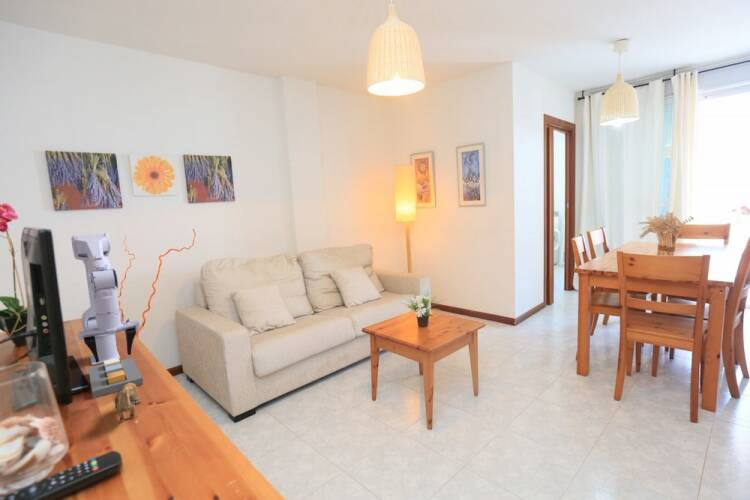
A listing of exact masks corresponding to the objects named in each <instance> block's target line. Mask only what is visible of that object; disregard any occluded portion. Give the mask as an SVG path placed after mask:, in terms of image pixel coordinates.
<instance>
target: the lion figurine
mask: <svg viewBox="0 0 750 500" xmlns="http://www.w3.org/2000/svg"><path fill="white" fill-rule="evenodd" d="M141 396H142V395H141V394H140V393H139V389H138V386H136V385H135V384H134V383H128V384H126V385H124V386H123V388H122V389H121V390H120V391H118V392H117V394H116V397H115V398H114V407H115V410H116V411H117V415H118V418H119V419H118V424H123V423H124V422H125V420H126V419H125V417H124V413H125V412H129V411H130V413H129V417H130V418H131V419H132V420H134V419H136V418H138V415H137V414H136V412H135V410H136V405H135V404H140V403H141V399H140V398H141Z"/></svg>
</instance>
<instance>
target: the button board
mask: <svg viewBox="0 0 750 500" xmlns="http://www.w3.org/2000/svg"><path fill="white" fill-rule="evenodd" d="M119 360H120V359H119ZM120 364H121V365H122V369H123V371H124V373H125V379H126V380H125V381H121V382H118V383H114V384H110V385H109V384H108V377H107V376H106V370H105V368H104V363H103V364H100V365H94V366H91V367H88V374H89V379H90V387H91V393H92V398H93V399H95V398H99V397H103V396H106V395H111V394H114V393H118V392H119V391H120V390H121V389H122V388H123V386H124V385H126V384H128V383H134V384H135V385H136V387H138V386H142V384H143V385H144V381H143V376H142V374H141V372H140V370H139V367H138V365H137V364H136V361H135V359H134V357H132V356H131V357H129V358H125V359H121V360H120Z"/></svg>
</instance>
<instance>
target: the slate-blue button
mask: <svg viewBox="0 0 750 500" xmlns="http://www.w3.org/2000/svg"><path fill="white" fill-rule="evenodd" d="M105 369H106V376H107V374H110V373H114V372H118V371H121V370H123V369H122V365H121V364H117V365H113V366H109V367H105Z"/></svg>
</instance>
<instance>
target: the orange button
mask: <svg viewBox="0 0 750 500" xmlns="http://www.w3.org/2000/svg"><path fill="white" fill-rule="evenodd" d="M107 377H108V384H109V385H110V384H114V383H118V382H121V381H125V380H126V379H125V373H124V371H123V370H121V371H118V372H114V373H110V374H107Z"/></svg>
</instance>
